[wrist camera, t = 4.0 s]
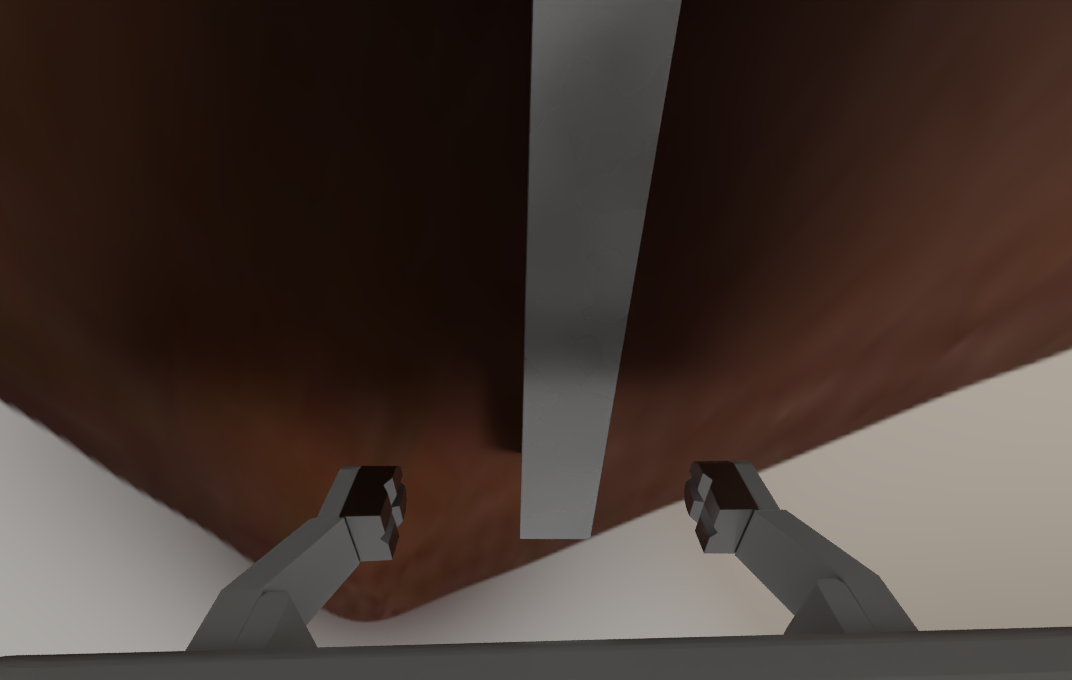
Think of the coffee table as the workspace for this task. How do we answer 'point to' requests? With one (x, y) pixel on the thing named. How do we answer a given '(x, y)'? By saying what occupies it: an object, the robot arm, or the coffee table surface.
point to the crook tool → (583, 237)
